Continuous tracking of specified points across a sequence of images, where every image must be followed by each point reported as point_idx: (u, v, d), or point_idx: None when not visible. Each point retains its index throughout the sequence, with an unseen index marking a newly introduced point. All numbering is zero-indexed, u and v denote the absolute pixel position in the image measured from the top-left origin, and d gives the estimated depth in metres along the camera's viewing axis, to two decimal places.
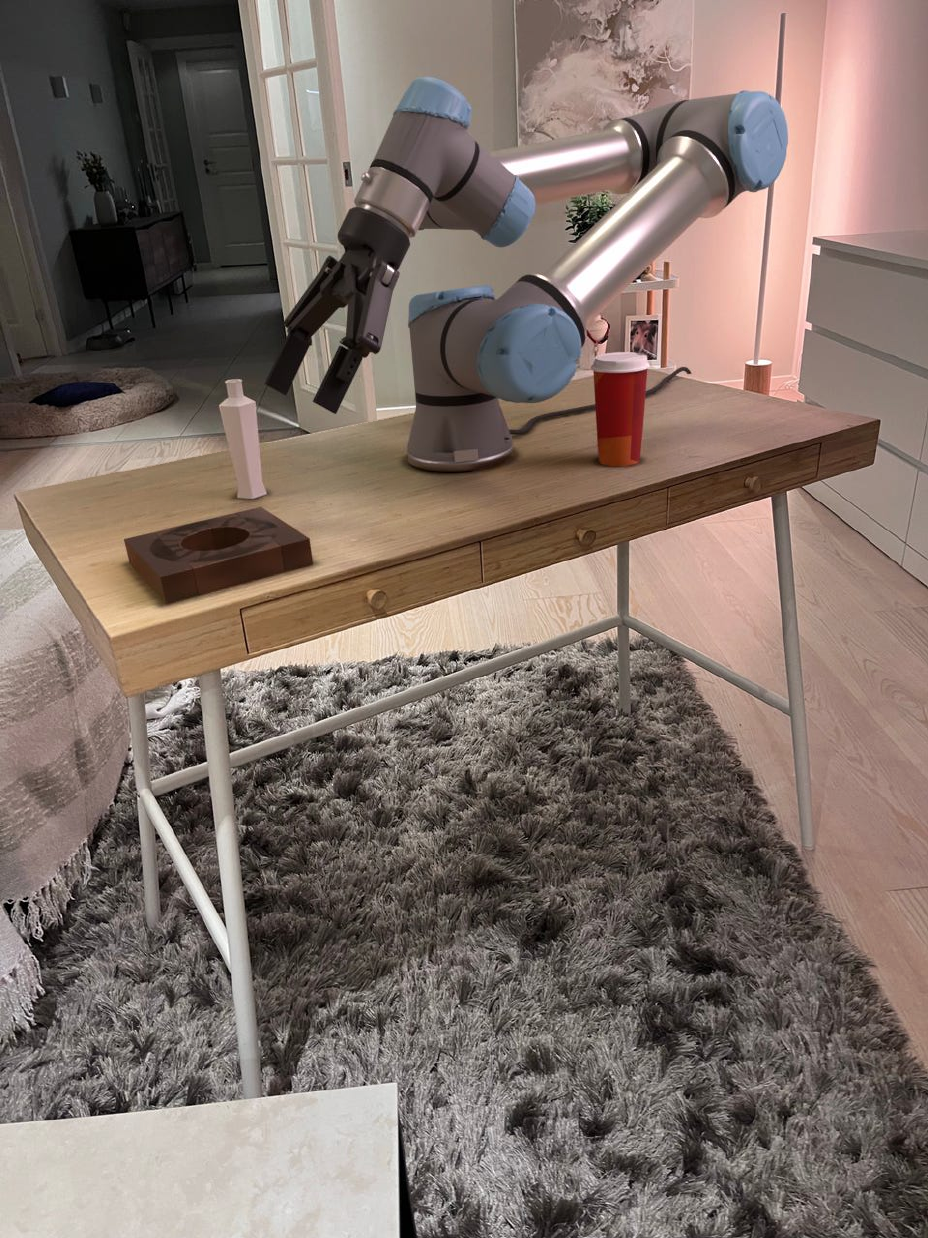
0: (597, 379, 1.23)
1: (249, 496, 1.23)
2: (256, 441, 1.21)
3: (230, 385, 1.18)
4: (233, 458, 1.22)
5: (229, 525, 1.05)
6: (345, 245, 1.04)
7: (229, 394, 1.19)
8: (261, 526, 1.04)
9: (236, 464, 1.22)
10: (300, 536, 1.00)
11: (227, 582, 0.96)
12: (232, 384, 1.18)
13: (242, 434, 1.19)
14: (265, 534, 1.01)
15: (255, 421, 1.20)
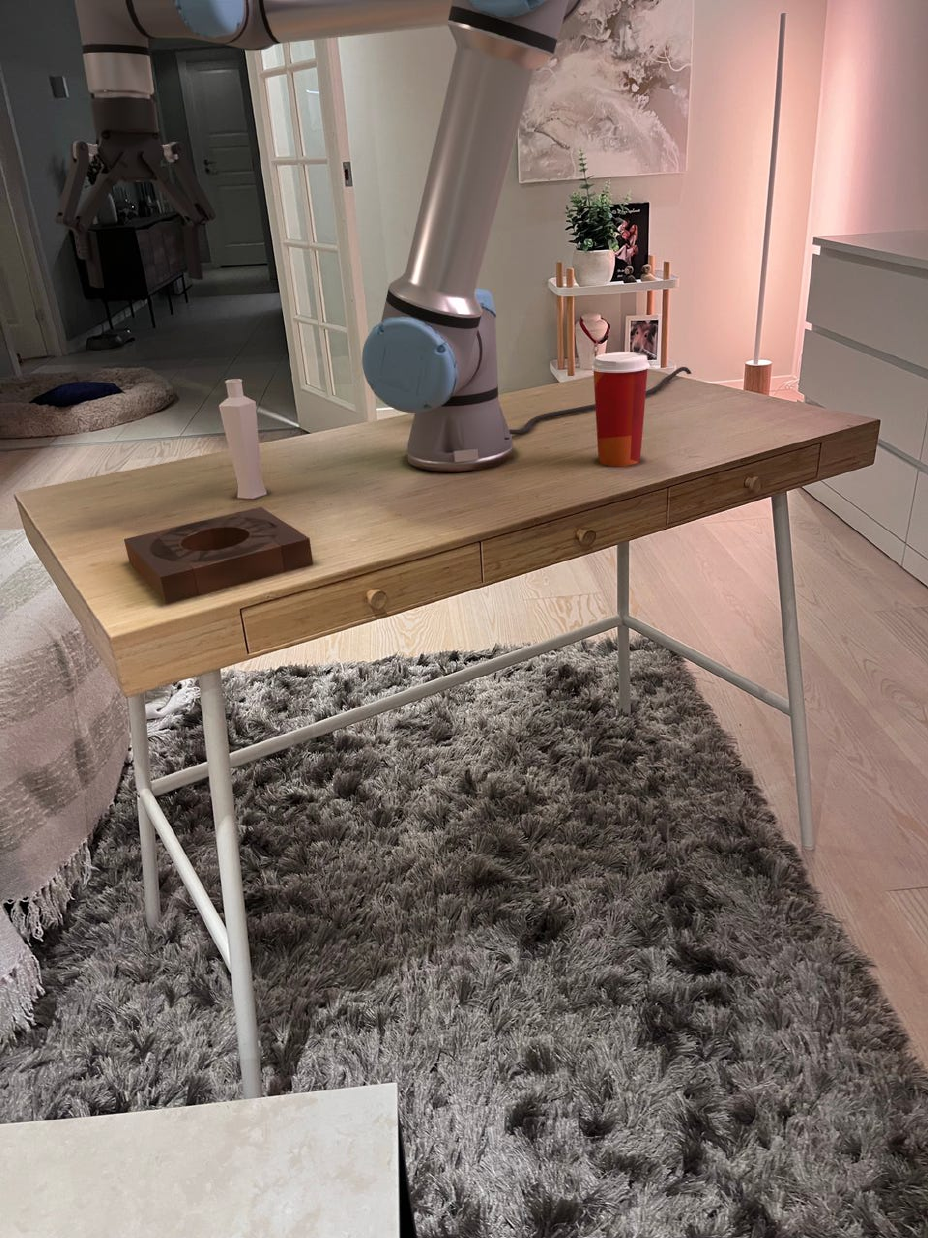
0: (597, 379, 1.23)
1: (249, 496, 1.23)
2: (256, 441, 1.21)
3: (230, 385, 1.18)
4: (233, 458, 1.22)
5: (229, 525, 1.05)
6: None
7: (229, 394, 1.19)
8: (261, 526, 1.04)
9: (236, 464, 1.22)
10: (300, 536, 1.00)
11: (227, 582, 0.96)
12: (232, 384, 1.18)
13: (242, 434, 1.19)
14: (265, 534, 1.01)
15: (255, 421, 1.20)
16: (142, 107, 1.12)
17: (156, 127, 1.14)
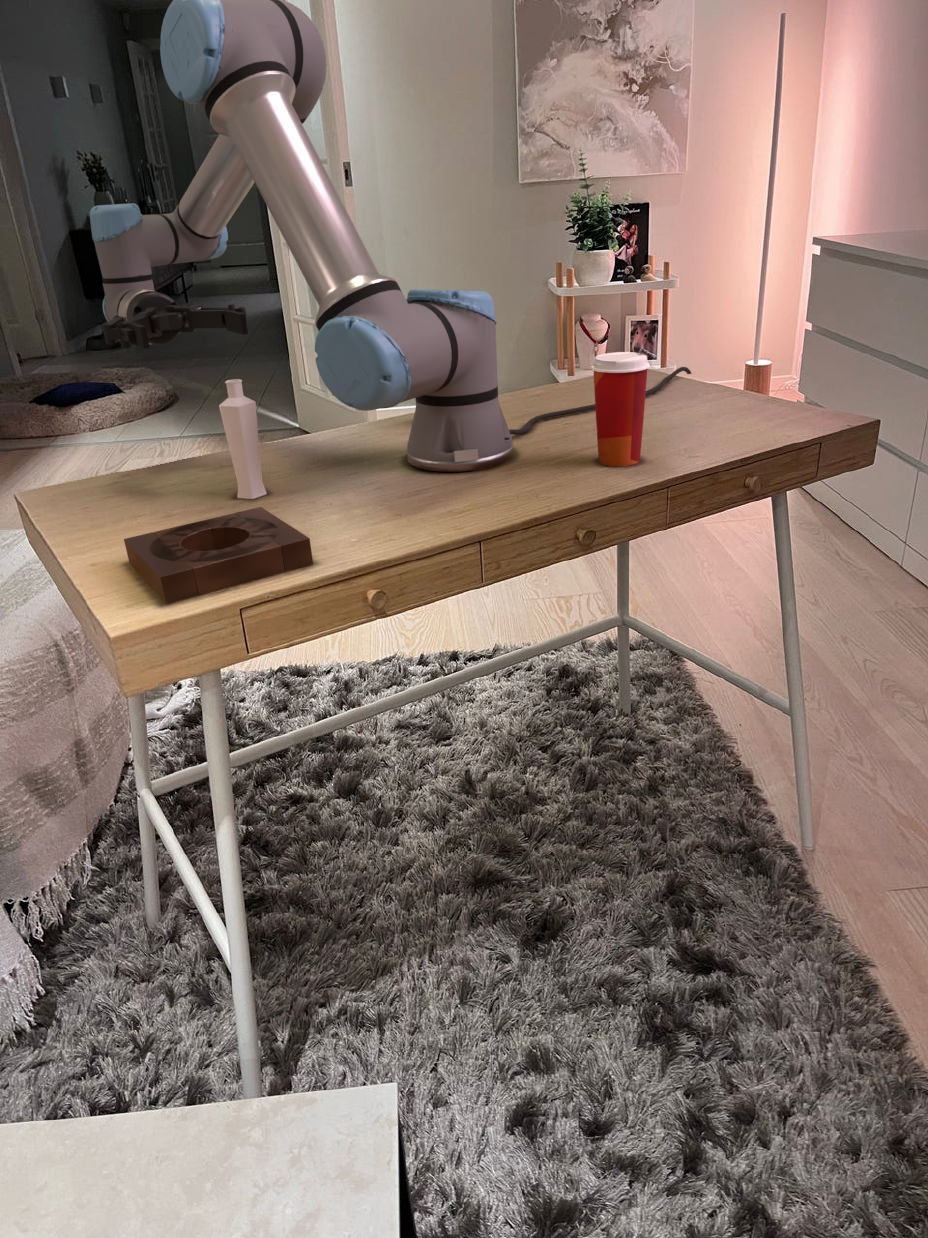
0: (597, 379, 1.23)
1: (249, 496, 1.23)
2: (256, 441, 1.21)
3: (230, 385, 1.18)
4: (233, 458, 1.22)
5: (229, 525, 1.05)
6: None
7: (229, 394, 1.19)
8: (261, 526, 1.04)
9: (236, 464, 1.22)
10: (300, 536, 1.00)
11: (227, 582, 0.96)
12: (232, 384, 1.18)
13: (242, 434, 1.19)
14: (265, 534, 1.01)
15: (255, 421, 1.20)
16: (152, 291, 1.40)
17: None
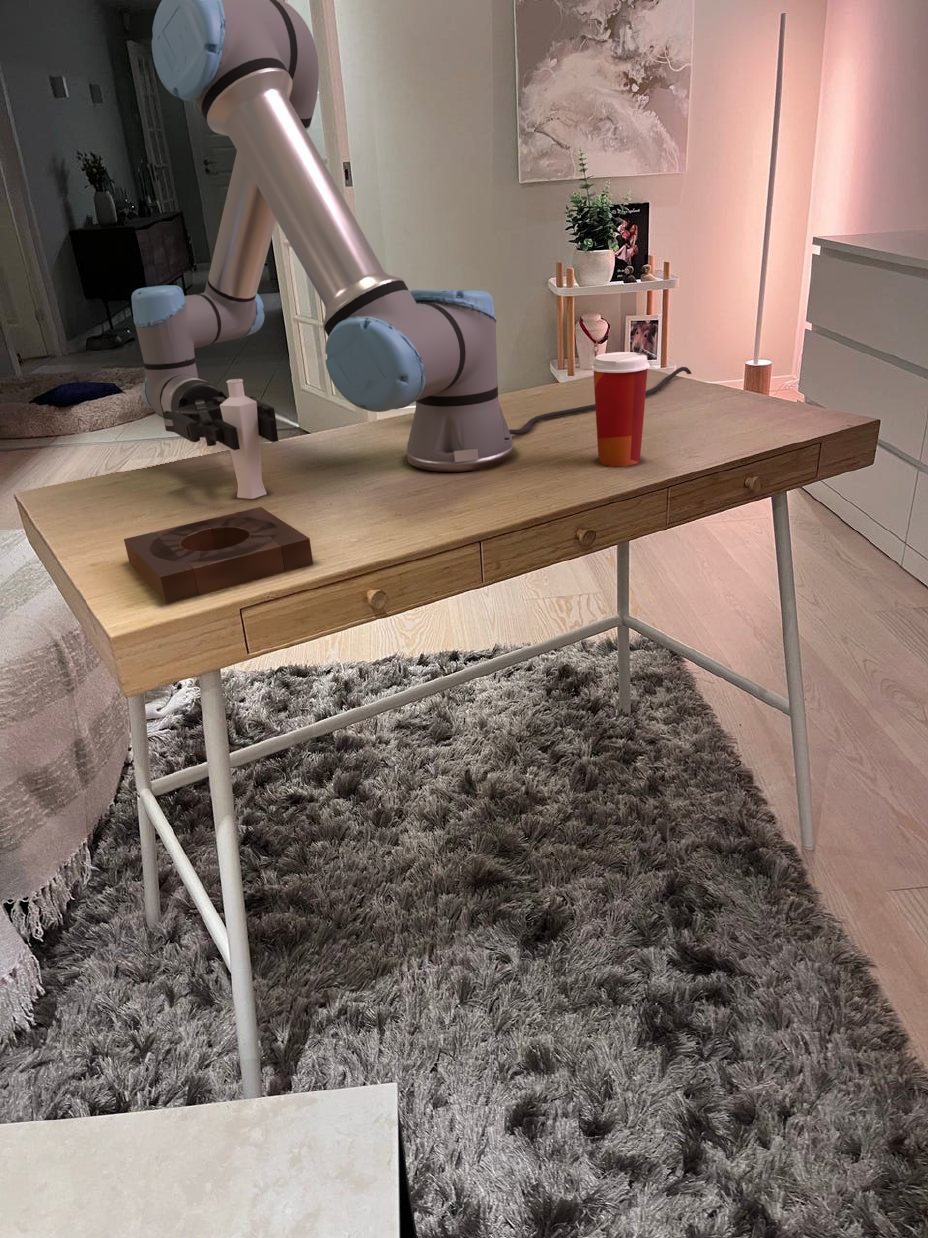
0: (597, 379, 1.23)
1: (249, 496, 1.23)
2: (256, 441, 1.21)
3: (231, 385, 1.18)
4: (233, 458, 1.22)
5: (229, 525, 1.05)
6: None
7: (230, 394, 1.19)
8: (261, 526, 1.04)
9: (236, 463, 1.22)
10: (300, 536, 1.00)
11: (227, 582, 0.96)
12: (233, 384, 1.18)
13: (243, 434, 1.19)
14: (265, 534, 1.01)
15: (256, 421, 1.20)
16: (198, 380, 1.33)
17: (217, 387, 1.33)
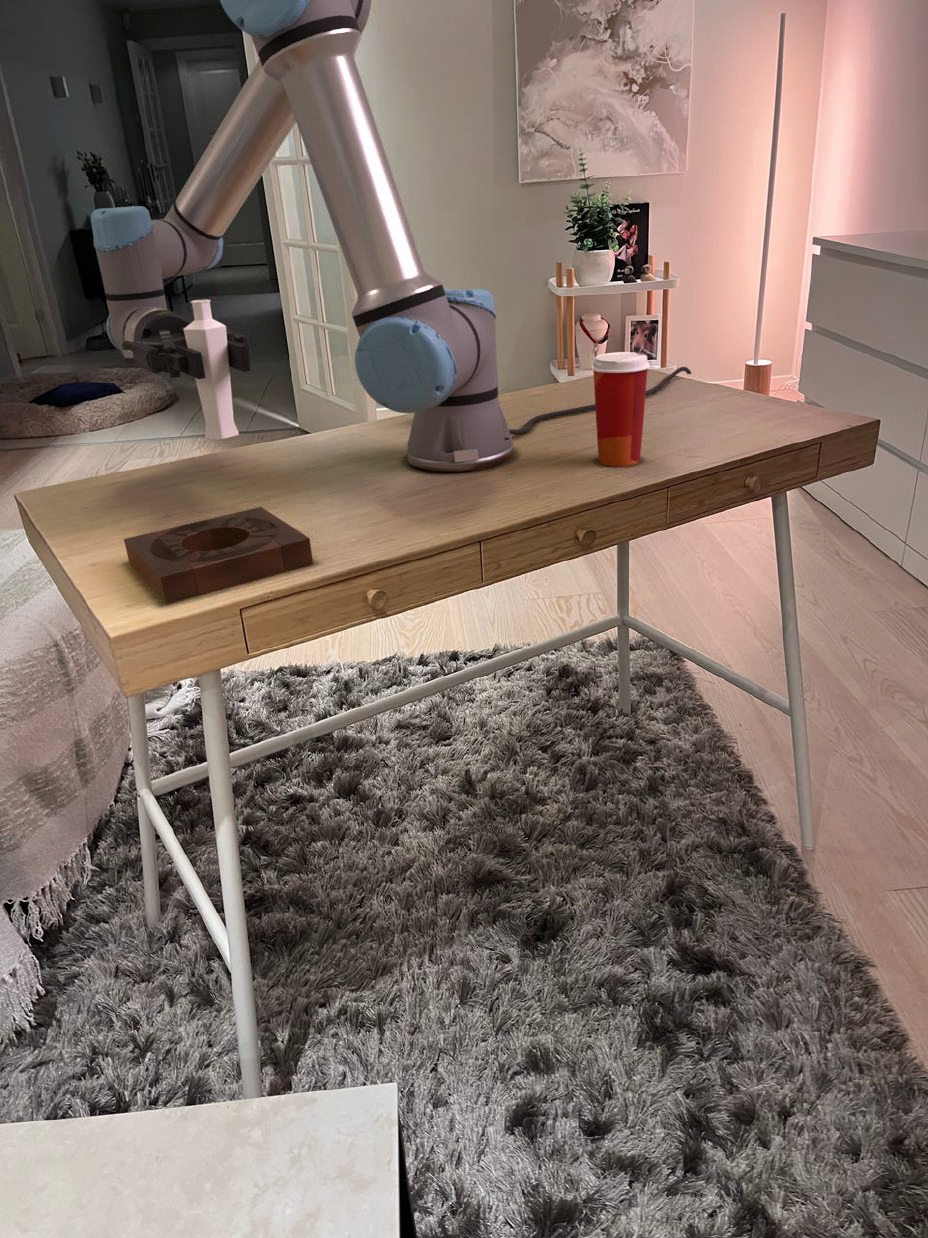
0: (597, 379, 1.23)
1: (218, 436, 1.08)
2: (226, 372, 1.06)
3: (196, 305, 1.03)
4: (200, 391, 1.06)
5: (229, 525, 1.05)
6: None
7: (195, 316, 1.03)
8: (261, 526, 1.04)
9: (203, 398, 1.07)
10: (300, 536, 1.00)
11: (227, 582, 0.96)
12: (199, 304, 1.03)
13: (210, 362, 1.04)
14: (265, 534, 1.01)
15: (225, 348, 1.05)
16: (164, 309, 1.18)
17: None
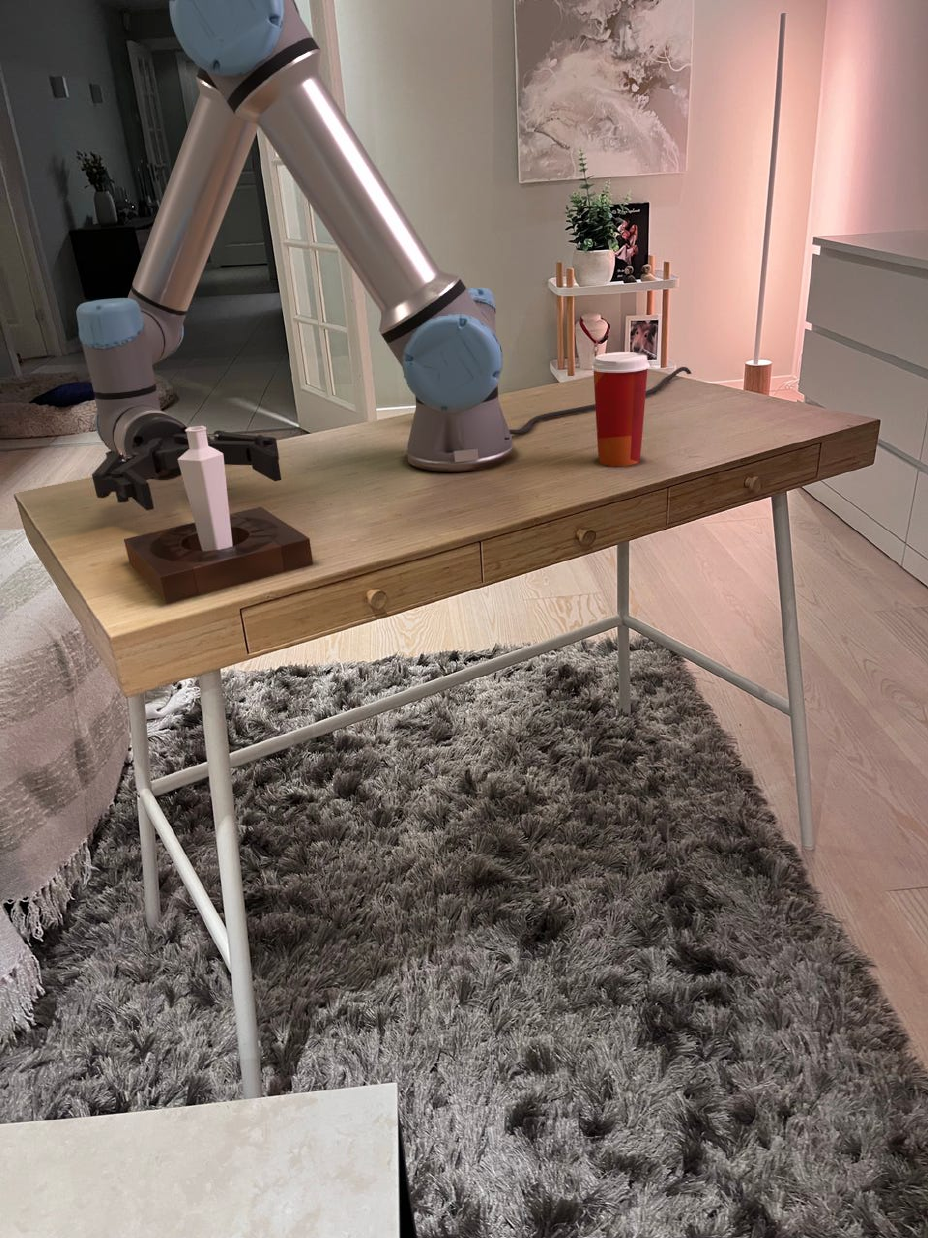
0: (597, 379, 1.23)
1: None
2: (225, 501, 0.99)
3: (191, 434, 0.95)
4: (196, 522, 0.99)
5: None
6: None
7: (190, 445, 0.96)
8: (261, 526, 1.04)
9: (200, 529, 0.99)
10: (300, 536, 1.00)
11: (227, 582, 0.96)
12: (194, 433, 0.95)
13: (207, 494, 0.97)
14: (265, 534, 1.01)
15: (223, 477, 0.98)
16: (157, 413, 1.10)
17: None
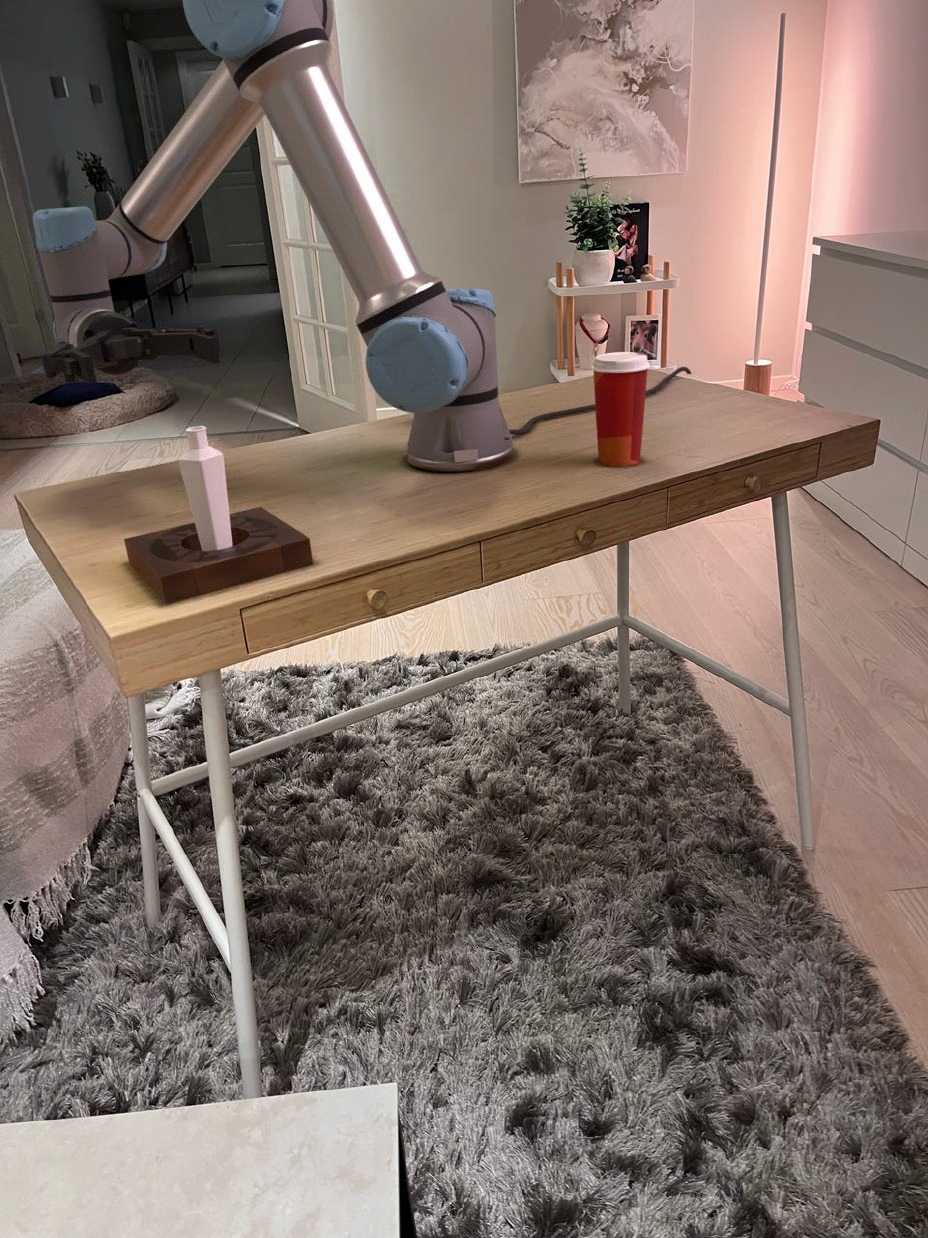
0: (597, 379, 1.23)
1: None
2: (225, 501, 0.99)
3: (191, 434, 0.95)
4: (196, 522, 0.99)
5: None
6: None
7: (190, 445, 0.96)
8: (261, 526, 1.04)
9: (200, 529, 0.99)
10: (300, 536, 1.00)
11: (227, 582, 0.96)
12: (194, 433, 0.95)
13: (207, 494, 0.97)
14: (265, 534, 1.01)
15: (223, 477, 0.98)
16: None
17: None
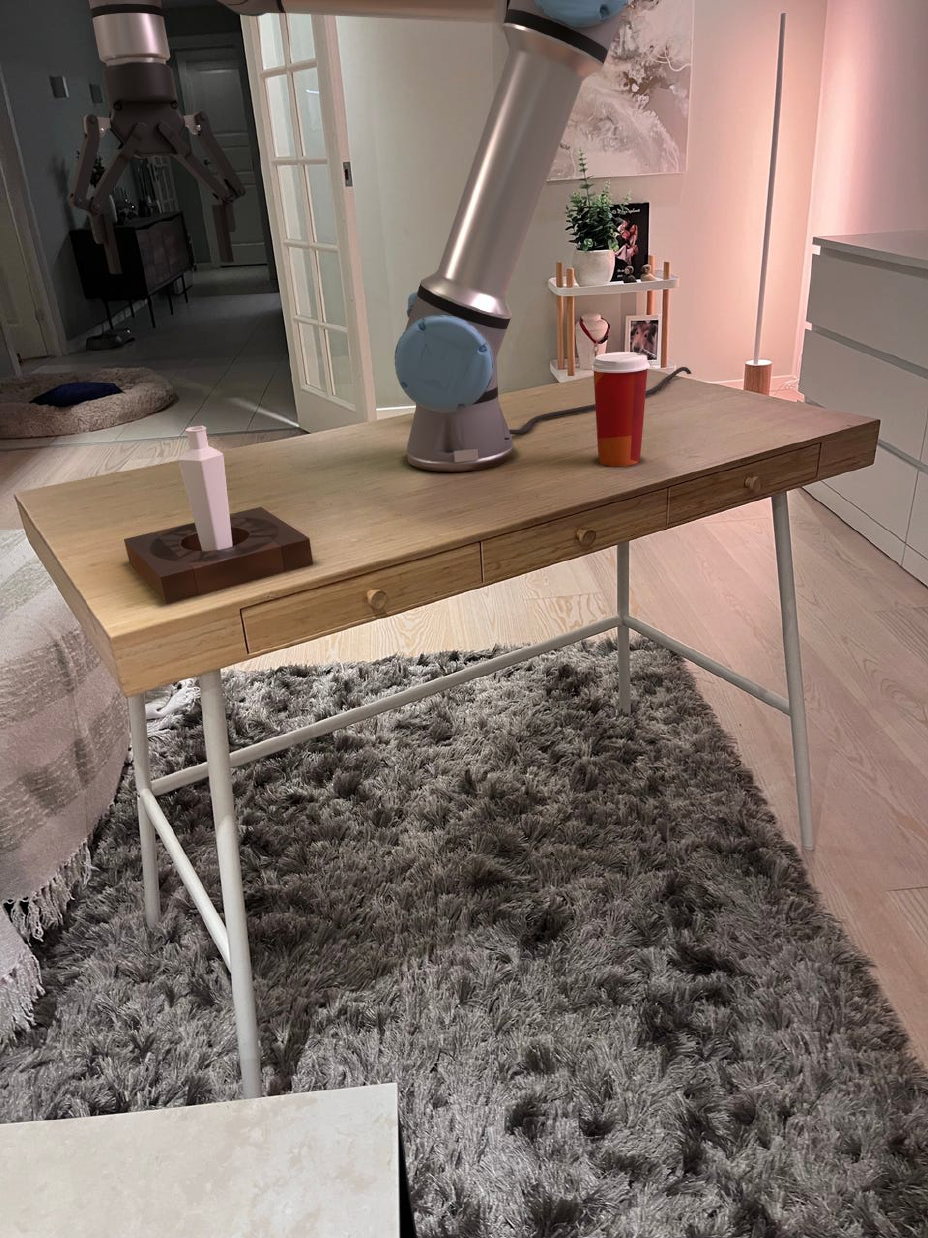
0: (597, 379, 1.23)
1: None
2: (225, 501, 0.99)
3: (191, 434, 0.95)
4: (196, 522, 0.99)
5: None
6: None
7: (190, 445, 0.96)
8: (261, 526, 1.04)
9: (200, 529, 0.99)
10: (300, 536, 1.00)
11: (227, 582, 0.96)
12: (194, 433, 0.95)
13: (207, 494, 0.97)
14: (265, 534, 1.01)
15: (223, 477, 0.98)
16: (153, 72, 1.02)
17: (172, 94, 1.05)
